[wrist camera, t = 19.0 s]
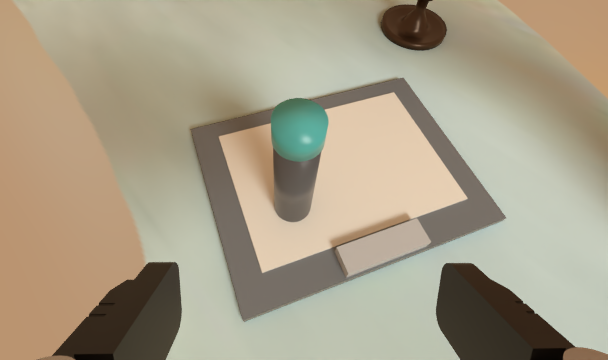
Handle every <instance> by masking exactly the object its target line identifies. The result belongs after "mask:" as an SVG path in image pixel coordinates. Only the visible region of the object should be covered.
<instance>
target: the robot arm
mask: <svg viewBox="0 0 608 360" xmlns="http://www.w3.org/2000/svg"><path fill="white" fill-rule="evenodd" d="M181 313H182V308H181V294H180V280H179V268H178V265H177V263H176V262H149V263H148V264H147V265H146V266H145V267H144V269H143V270H142V271H141V272H140V273H139V274H138V276H137V277H136V278H135V279H134V280H126V281H125V282H123V283H121V284H120V285H118V286H117V287H115V288H113V289H112V290H110V291H109V292H108V294H107V295H106V296H105V297H104V298H103V299H102V300H101V301H100V303H99V306H96V307H95V308H94V309H93V310H92V312H91V313H90V314H89V317H86V318H85V319H84V321H83V322H82V323H81V324H80V325H79V326H78V327H77V328H76V329H75V331H74V332H73V333H72V334H71V335H70V336H69V337H68V339H67V340H66V341H65V342H64V343H63V344H62V345H61V346H60V348H59V349H58V350H57V351H56V352H55V353H54V354H53V355H52V356H51V357H45V358H41V359H38V360H166V357H167V355H168V353H169V351H170V348H171V346H172V344H173V342H174V340H175V337H176V335H177V333H178V330H179V327H180V322H181ZM436 316H437V321H438V324H439V327H440V329H441V331H442V332H443V334H444V335H445V337H446V338H447V340H448V341H449V343H450V345H451V346H452V348H453V349H454V351H455V352H456V354H457V355H458V357H459V358H460V360H608V354H605V353H602V352H599V351H596V350H592V349H588V348H579V347H575V346H574V345H572V344H571V343H570V342H569V341H568V340H567V339H566V338H564V337H563V336H562V335H561V334H560V333H559V332H557V331H556V330H555V329H554V328H553V327H552V326H551V325H549V324H548V323H547V322H546V321H545V320H544V319H543V318H541V317H540V316H539V315H538V314H535V313H534V311H533V310H532V309H531V308H530V307H529V306H528V305H527V304H523V301H522V300H521V299H520V298H518V297H517V296H516V295H515V294H514V293H513V292H512V291H510V290H509V289H507V288H506V287H504V286H502V285H500V284H498V283H496V282H495V281H493V280H491V279H489V278H488V277H487V276H486V275H485V274H484V273H483V272H482V271H481V270H479V269H478V268H477V267H476V266H475V265H474V264H472V263H446V264H445V265H444V266H443V268H442V273H441V279H440V286H439V293H438V299H437V306H436Z"/></svg>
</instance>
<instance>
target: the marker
mask: <svg viewBox="0 0 608 360" xmlns="http://www.w3.org/2000/svg"><path fill="white" fill-rule="evenodd" d="M328 123H329V120H328V116H327V113H326V112H325V110H324V109H323V108H322V107H321V106H320V105H319V104H317V103H315V102H313V101H311V100H308V99H302V98H294V99H289V100H286V101H283V102H282V103H280V104H279V105H277V106H276V107H275V109H274V110H273V112H272V114H271V141H272V146H273V170H274V208H275V211H276V213H277V215H278V216H279V217H280V218H281V219H283V220H285V221H288V222H298V221H301V220H303V219H304V218H305V217H306V216H307V215H308V214H309V212H310V209H311V203H312V198H313V193H314V188H315V183H316V178H317V172H318V167H319V162H320V157H321V152H322V150H323V147H324V144H325V139H326V134H327V129H328Z"/></svg>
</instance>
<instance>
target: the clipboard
mask: <svg viewBox="0 0 608 360" xmlns="http://www.w3.org/2000/svg"><path fill="white" fill-rule="evenodd" d="M311 101H313V102H315V103H317V104H319V105H320V106H321V107H322V108H323V109H324V110H325V112H326V113H327V116H328V120H329V123H328V129H327V134H326V139H325V144H324V147H323V150H322V152H321V157H320V162H319V167H318V172H317V178H316V183H315V188H314V193H313V198H312V203H311V209H310V212H309V214H308V215H307V216H306V217H305V218H304V219H303V220H301V221H298V222H288V221H285V220H283V219H281V218H280V217H279V216H278V215H277V213H276V211H275V208H274V170H273V146H272V141H271V114H272V112H273V110H274V109H272V110H268V111H264V112H260V113H255V114H251V115H247V116H243V117H239V118H235V119H231V120H227V121H222V122H218V123H214V124H210V125H206V126H202V127H198V128H194V129H191V132H192V136H193V139H194V143H195V147H196V150H197V154H198V158H199V161H200V165H201V169H202V172H203V176H204V180H205V183H206V187H207V191H208V194H209V198H210V202H211V205H212V209H213V213H214V216H215V220H216V224H217V227H218V231H219V235H220V238H221V242H222V245H223V249H224V253H225V256H226V260H227V264H228V267H229V271H230V275H231V278H232V282H233V286H234V289H235V293H236V297H237V300H238V304H239V308H240V311H241V315H242V319H243V321H244V322H245V321H247V320H250V319H253V318H255V317H258V316H260V315H263V314H265V313H268V312H270V311H273V310H276V309H278V308H281V307H283V306H286V305H288V304H291V303H293V302H296V301H299V300H301V299H304V298H306V297H309V296H311V295H314V294H316V293H319V292H322V291H324V290H327V289H329V288H332V287H334V286H337V285H340V284H342V283H345V282H347V281H350V280H352V279H355V278H357V277H360V276H363V275H365V274H368V273H370V272H373V271H375V270H378V269H380V268H383V267H386V266H388V265H391V264H393V263H396V262H398V261H401V260H404V259H406V258H409V257H411V256H414V255H416V254H419V253H421V252H424V251H427V250H429V249H432V248H434V247H437V246H439V245H442V244H444V243H447V242H450V241H452V240H455V239H457V238H460V237H462V236H465V235H468V234H470V233H473V232H475V231H478V230H480V229H483V228H485V227H488V226H491V225H493V224H496V223H498V222H501V221H503V220H504V219H505V218H506V217H505V215H504V214H503V213H502V211H501V210H500V209H499V207H498V206H497V205H496V203H495V202H494V200H493V199H492V198H491V196H490V195H489V194H488V192H487V191H486V190H485V188H484V187H483V186H482V184H481V183H480V181H479V180H478V179H477V177H476V176H475V175H474V173H473V172H472V171H471V169H470V168H469V166H468V165H467V164H466V162H465V161H464V160H463V158H462V157H461V156H460V154H459V153H458V151H457V150H456V149H455V147H454V146H453V145H452V143H451V142H450V141H449V139H448V138H447V137H446V135H445V134H444V132H443V131H442V130H441V128H440V127H439V126H438V124H437V123H436V122H435V120H434V119H433V117H432V116H431V115H430V113H429V112H428V111H427V109H426V108H425V107H424V105H423V104H422V103H421V101H420V100H419V98H418V97H417V96H416V94H415V93H414V92H413V90H412V89H411V88H410V86H409V85H408V83H407V82H406V81H405V79H404V78H400V79H396V80H392V81H387V82H383V83H379V84H375V85H371V86H367V87H363V88H359V89H354V90H350V91H346V92H342V93H338V94H334V95H330V96H326V97H321V98H317V99H313V100H311Z"/></svg>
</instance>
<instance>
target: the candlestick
mask: <svg viewBox="0 0 608 360" xmlns="http://www.w3.org/2000/svg"><path fill="white" fill-rule="evenodd" d="M429 1H432V0H418V2H417V5H398V6H394V7H392V8H390V9H388V10H387V11H386V12H385V13H384V16H383V19H382V22H381V28H382V31H383V33H384V35H385V36H386V37H387V38H388V39H389V40H390V41H392V42H393V43H395V44H397V45H399V46H401V47H403V48H407V49H411V50H429V49H432V48H435V47H437V46H438V45H439V44H441V42H442V41H443V39H444V37H445V35H446V31H447V29H446V25H445V22H444V21H443V20H442V18H441V17H439V16H438V15H437V14H436V13H434V12H433V11H431V10H429V9H426V7H427V4H428V2H429Z"/></svg>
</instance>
